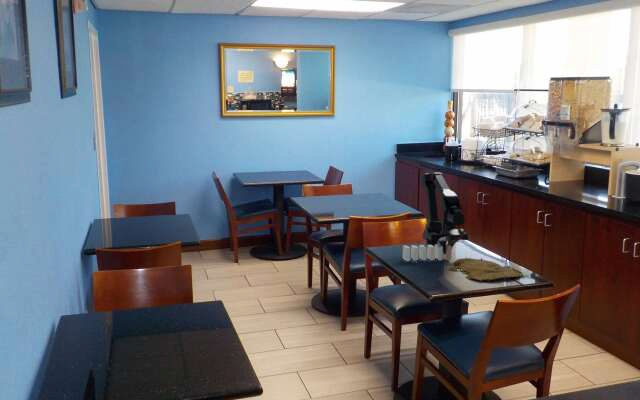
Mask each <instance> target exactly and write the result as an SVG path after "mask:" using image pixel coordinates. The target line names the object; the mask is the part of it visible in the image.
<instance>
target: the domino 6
mask: <svg viewBox="0 0 640 400" xmlns="http://www.w3.org/2000/svg"><path fill="white" fill-rule="evenodd" d="M452 249H453V248H452V246H451V245H449V244H448V243H446V253H445V255H444V254H443V253H442V259H443V258H445V259H446V260H445V259H444V260H445V261H447V260H451V261H452Z"/></svg>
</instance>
